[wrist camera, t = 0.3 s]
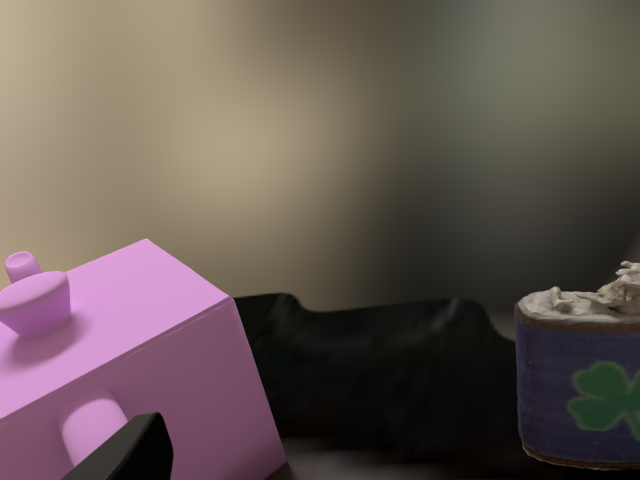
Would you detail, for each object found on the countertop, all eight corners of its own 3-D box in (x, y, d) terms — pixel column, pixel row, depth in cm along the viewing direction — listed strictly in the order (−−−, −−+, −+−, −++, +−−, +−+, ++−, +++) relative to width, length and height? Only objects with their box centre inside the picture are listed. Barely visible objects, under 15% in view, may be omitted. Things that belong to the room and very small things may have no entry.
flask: (705, 425, 24) (739, 242, 20) (737, 475, 22) (786, 278, 17) (514, 423, 27) (507, 261, 22) (524, 469, 24) (518, 295, 20)
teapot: (167, 334, 43) (108, 191, 37) (341, 519, 24) (274, 285, 18) (-19, 434, 36) (-129, 275, 30) (16, 817, 17) (-272, 585, 11)
